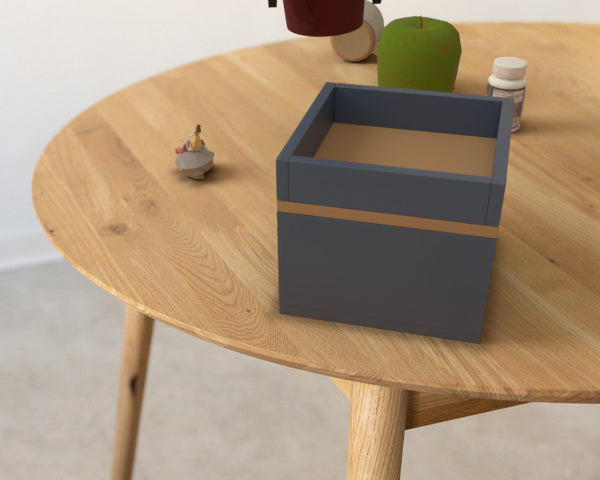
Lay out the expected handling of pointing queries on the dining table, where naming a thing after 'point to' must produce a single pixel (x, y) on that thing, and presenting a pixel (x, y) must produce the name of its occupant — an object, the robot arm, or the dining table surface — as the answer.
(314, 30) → the mug
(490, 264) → the box
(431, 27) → the apple
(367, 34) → the ceramic mug
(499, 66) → the pill bottle
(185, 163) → the figurine
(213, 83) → the dining table surface
